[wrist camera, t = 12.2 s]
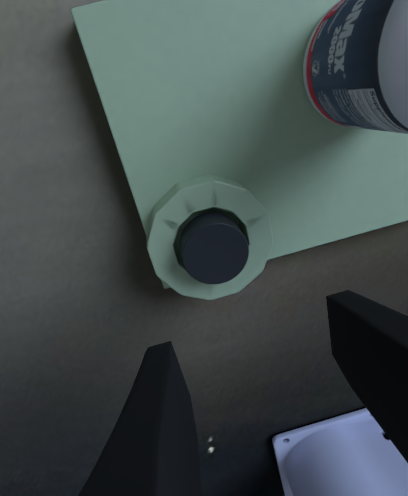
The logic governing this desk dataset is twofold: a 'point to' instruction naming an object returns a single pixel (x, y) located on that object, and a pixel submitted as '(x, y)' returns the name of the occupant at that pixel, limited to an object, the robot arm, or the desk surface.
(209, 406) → the desk surface
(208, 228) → the button
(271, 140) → the green flat slab
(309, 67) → the pill bottle
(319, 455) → the robot arm
